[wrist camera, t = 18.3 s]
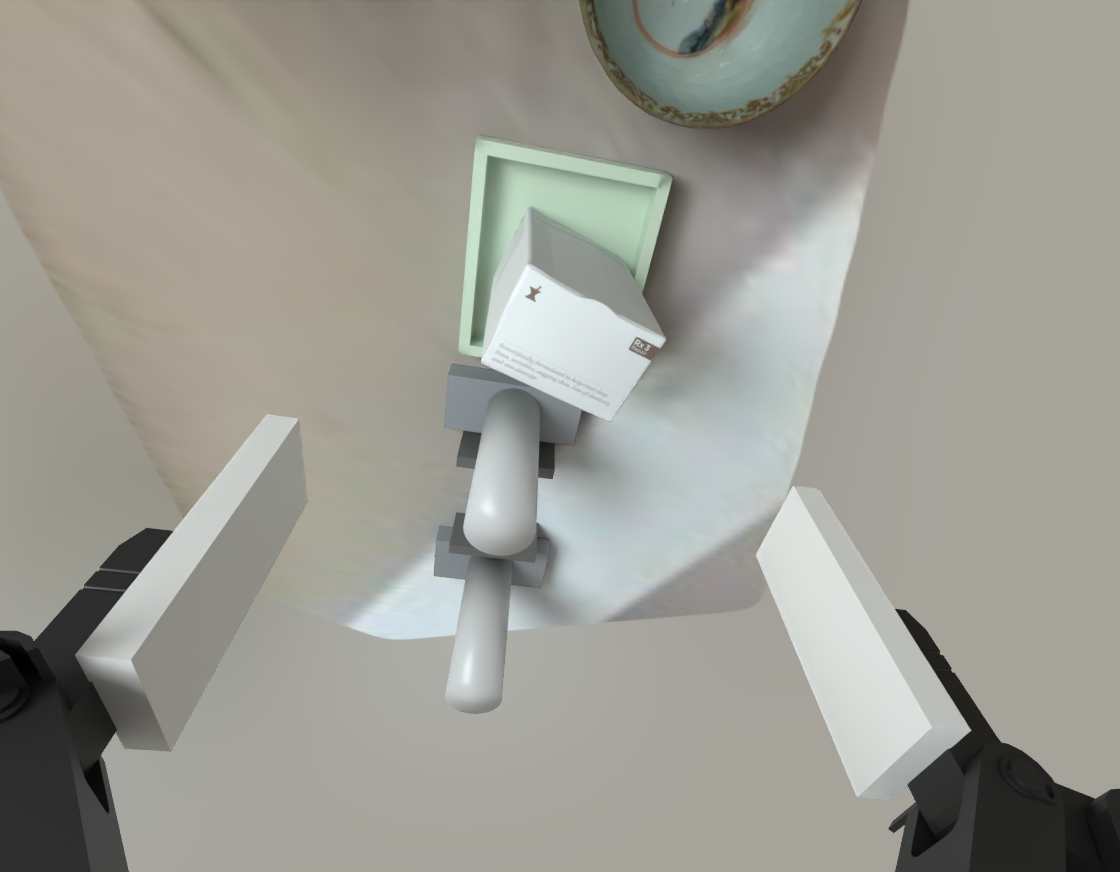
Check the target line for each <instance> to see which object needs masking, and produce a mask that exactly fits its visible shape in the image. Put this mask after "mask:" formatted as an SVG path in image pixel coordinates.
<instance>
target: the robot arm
mask: <svg viewBox="0 0 1120 872" xmlns="http://www.w3.org/2000/svg"><path fill="white" fill-rule="evenodd" d="M307 502H308V500H307V491H306V481H305V472H304V462H303V453H302V443H301V434H300V424H299V419H297V418H289V417H282V416H274V415H266V416H265V417H264V419H263V420H262V421H261V422H260V424H259V425H258V426H257V427H256V429H255V430H254V431H253V432H252V434H251V435H250V436H249V437H248V439H247V440H246V441H245V442H244V444H243V445H242V446H241V447H240V449H239V450H238V451H237V452H236V454H235V455H234V456H233V457H232V459H231V460H230V461H229V462H228V464H227V465H226V466H225V467H224V469H223V470H222V471H221V472H220V474H219V475H218V476H217V477H216V479H215V480H214V481H213V483H212V484H211V485H210V486H209V488H208V489H207V490H206V491H205V493H204V494H203V495H202V496H201V498H200V499H199V500H198V501H197V503H196V504H195V505H194V506H193V508H192V509H191V510H190V511H189V513H188V514H187V515H186V516H185V518H184V519H183V520H182V522H181V523H180V524H179V525H178V526H177V528H176V529H175V530H174V531H169V530H160V529H151V528H146V529H144V530H143V531H141V532H140V533H138V534H136V535H135V536H133V537H132V538H130V539H128V540H127V541H125V542H124V543H122V544H121V545H119V546H118V547H117V548H116V550H115V551H114V552H113V553H112V554H111V555H110V556H109V557H108V559H107V560H106V561H105V562H104V563H103V564H102V565H101V566H100V570H99V571H98V572H97V571H96V572H95V573H94V574H93V576H92V577H91V578H90V579H89V580H88V581H87V582H86V583H85V585H84V588H83V590H79V591H78V593H77V594H76V595H75V596H74V597H73V598H72V599H71V600H70V601H69V603H68V604H67V605H66V606H65V607H64V608H63V609H62V610H61V612H60V613H59V614H58V615H57V616H56V617H55V618H54V619H53V621H52V622H51V623H50V624H49V625H48V626H47V628H46V629H45V630H44V631H43V632H42V633H41V634H40V635H39V636H38V638H37V639H36V640H35V641H33V639H32V637H31V636H28V635H26V634H23V633H21V632H18V631H0V872H129V871H128V866H127V862H126V857H125V853H124V848H123V843H122V839H121V834H120V830H119V826H118V821H117V816H116V811H115V808H114V803H113V798H112V794H111V789H110V784H109V780H108V775H107V771H106V766H105V762H104V760H103V758H102V756H101V754H102V752H103V751H104V749H105V748H106V746H107V745H108V743H109V741H110V740H111V738H112V737H113V735H114V734H115V732H116V734H117V735H118V737H119V739H120V741H121V743H122V745H123V747H124V748H125V749H141V750H155V751H170V752H171V750H172V749H173V747H174V745H175V743H176V741H177V740H178V738H179V736H180V734H181V732H182V731H183V729H184V727H185V725H186V723H187V721H188V720H189V718H190V716H191V714H192V712H193V710H194V709H195V707H196V705H197V703H198V701H199V699H200V697H201V696H202V694H203V692H204V690H205V688H206V687H207V685H208V683H209V681H210V679H211V677H212V676H213V674H214V672H215V670H216V668H217V667H218V664H219V663H220V661H221V659H222V657H223V656H224V654H225V652H226V650H227V648H228V646H229V645H230V643H231V641H232V639H233V637H234V635H235V633H236V632H237V630H238V628H239V626H240V624H241V623H242V621H243V619H244V617H245V615H246V614H247V612H248V610H249V608H250V606H251V604H252V602H253V601H254V599H255V597H256V595H257V593H258V592H259V590H260V588H261V586H262V584H263V582H264V581H265V579H266V577H267V575H268V573H269V571H270V570H271V568H272V566H273V564H274V562H275V560H276V559H277V557H278V555H279V553H280V551H281V550H282V548H283V546H284V544H285V542H286V540H287V539H288V537H289V535H290V533H291V531H292V529H293V528H294V526H295V524H296V522H297V520H298V518H299V517H300V515H301V513H302V511H303V509H304V507H305V506H306V504H307ZM756 557H757V559H758V562H759V564H760V566H761V569H762V571H763V574H764V576H765V578H766V581H767V583H768V585H769V588H770V590H771V592H772V595H773V597H774V600H775V602H776V604H777V607H778V609H779V612H780V614H781V617H782V619H783V621H784V624H785V626H786V628H787V631H788V633H789V635H790V638H791V640H792V643H793V645H794V648H795V650H796V652H797V655H798V657H799V659H800V662H801V664H802V667H803V669H804V671H805V674H806V676H807V679H808V681H809V684H810V686H811V688H812V691H813V693H814V695H815V698H816V700H817V703H818V705H819V707H820V710H821V712H822V714H823V717H824V719H825V722H826V724H827V726H828V729H829V731H830V734H831V736H832V739H833V741H834V743H835V746H836V748H837V750H838V752H839V755H840V758H841V760H842V762H843V765H844V767H845V769H846V772H847V774H848V777H849V779H850V782H851V784H852V786H853V789H854V791H855V793H856V796H857V797H858V798H874V799H889V800H892V799H893V798H894V797H895V796H896V795H898V794H899V793H900V792H901V791H902V790H903V789H905V788H906V787H907V786H908V787H909V789H910V791H911V793H912V795H913V797H914V799H915V801H916V802H915V803H914V804H913V805H912V806H911V807H909V808H908V809H907V810H906V811H904V812H903V813H902V814H901V815H900V816H899V817H897V818H896V819H895V820H894V821H893V822H892V823H891V826H890V827H889V830H891V831H892V832H893V833H894V832H896V831H897V830H898V829H900V828H901V827H902V826H903V825H905V828H904V833H903V838H902V842H901V847H900V852H899V857H898V861H897V866H896V870H895V872H1120V789H1111V790H1109V791H1108V792H1106V793H1104V794H1103V795H1101V796H1099V797H1098V798H1096V799H1094V798H1092V797H1090V796H1087V795H1085V794H1082V793H1079V792H1077V791H1074V790H1071V789H1069V788H1067V787H1064V786H1062V785H1059V784H1057V783H1054V781H1053V779H1052V778H1051V777H1050V776H1049V774H1048V773H1047V772H1046V771H1045V770H1044V769H1043V768H1042V767H1041V766H1040V765H1039V764H1038V763H1037V762H1036V761H1035V760H1033V759H1032V758H1031V757H1030V756H1028V755H1027V754H1025V753H1024V752H1023V751H1021V750H1019V749H1017V748H1015V747H1013V746H1011V745H1009V744H1006V743H1001V741H1000V740H999V739H998V738H997V736H996V735H995V733H994V732H993V730H992V729H991V727H990V726H989V724H988V723H987V721H986V720H985V718H984V717H983V715H982V714H981V712H980V710H979V709H978V707H977V706H976V704H975V703H974V701H973V700H972V698H971V697H970V695H969V694H968V692H967V691H966V689H965V688H964V686H963V685H962V683H961V682H960V680H959V679H958V677H957V676H956V674H955V673H952V671H951V669H952V668H951V667H950V665H949V664H948V662H947V661H946V659H945V658H944V656H943V655H940V650H939V649H938V647H937V646H936V644H935V643H934V641H933V640H932V638H931V636H930V635H929V633H928V632H927V630H926V629H925V628H924V627H923V626H922V625H921V624H920V623H918V622H917V621H916V620H915V619H914V618H913V617H912V616H911V615H910V614H909V613H908V612H907V611H906V610H900V609H894V607H893V606H892V604H891V603H890V601H889V599H888V598H887V596H886V595H885V593H884V591H883V590H882V588H881V587H880V585H879V583H878V582H877V580H876V579H875V577H874V576H873V574H872V572H871V571H870V569H869V568H868V566H867V564H866V563H865V561H864V560H863V558H862V556H861V555H860V553H859V552H858V550H857V548H856V547H855V545H854V544H853V542H852V541H851V539H850V538H849V536H848V534H847V533H846V531H845V529H844V528H843V526H842V525H841V523H840V522H839V520H838V518H837V517H836V515H835V514H834V512H833V510H832V509H831V507H830V506H829V504H828V503H827V501H826V499H825V498H824V496H823V495H822V493H821V491H820V490H819V489H815V488H808V487H800V486H793V487H792V489H791V490H790V492H789V494H788V496H787V498H786V500H785V502H784V503H783V505H782V507H781V509H780V511H779V513H778V515H777V516H776V518H775V520H774V522H773V524H772V526H771V527H770V529H769V531H768V533H767V535H766V537H765V539H764V540H763V542H762V544H761V546H760V548H759V550H758V552H757V553H756Z"/></svg>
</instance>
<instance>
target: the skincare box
mask: <svg viewBox="0 0 1120 872" xmlns="http://www.w3.org/2000/svg"><path fill="white" fill-rule="evenodd" d="M665 342H666V337H665V335H664V333H663V332H662V330H661V328H660V326H659V324H658V322H657V321H656V319H655V317H654V315H653V313H652V311H651V309H650V308H649V306H648V304H647V302H646V300H645V299H644V297H643V295H642V293H641V291H640V289H639V288H638V286H637V284H636V282H635V280H634V278H633V276H632V275H631V273H630V271H629V269H628V267H627V265H626V263H625V261H624V260H623V259H622V258H620V257H619V256H617V255H615V254H614V253H612V252H610V251H609V250H607V249H605V248H603V247H602V246H600V245H598V244H597V243H595V242H593V241H592V240H590V239H588V238H586V237H585V236H583V235H581V234H579V233H577V232H576V231H574V230H572V229H570V228H569V227H567V226H565V225H563V224H562V223H560V222H558V221H556V220H553V219H551V218H549V217H547V216H546V215H544V214H542V213H541V212H539V211H538V210H536V209H534V208H533V207H531V206H530V207H528V208H527V210H526V212H525V214H524V216H523V218H522V220H521V222H520V224H519V226H518V228H517V230H516V232H515V234H514V236H513V238H512V240H511V242H510V244H509V246H508V248H507V250H506V252H505V254H504V256H503V258H502V261H501V263H500V265H499V267H498V269H497V271H496V273H495V275H494V278H493V283H492V290H491V296H490V304H489V310H488V316H487V323H486V329H485V336H484V343H483V350H482V358H481V363H482V364H484V365H486V366H488V367H490V368H493V369H495V370H497V371H499V372H501V373H504V374H506V375H508V376H510V377H512V378H514V379H516V380H518V381H521V382H523V383H525V384H527V385H529V386H531V387H534V388H536V389H538V390H540V391H542V392H544V393H546V394H549V395H551V396H553V397H555V398H557V399H560V400H562V401H564V402H566V403H568V404H571V405H573V406H575V407H577V408H579V409H582V410H584V411H586V412H588V413H590V414H593V415H595V416H597V417H599V418H601V419H604V420H606V421H608V422H610V421H611V420H612V418H613V417H614V416H615V414H616V413H617V411H618V410H619V408H620V407H621V406H622V404H623V403H624V401H625V400H626V398H627V397H628V395H629V394H630V392H631V391H632V389H633V388H634V386H635V385H636V383H637V382H638V380H639V379H640V377H641V376H642V375H643V373H644V372H645V370H646V369H647V367H648V366H649V364H650V363H651V361H652V360H653V359H654V357H655V356H656V354H657V353H658V352H659V350H660V349H661V347H662V346H663V345H664V343H665Z"/></svg>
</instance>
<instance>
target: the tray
mask: <svg viewBox="0 0 1120 872" xmlns="http://www.w3.org/2000/svg"><path fill="white" fill-rule="evenodd" d="M672 179H673V177H672V176H671V175H670V174H669V173H668V172H666V171H662V170H657V169H652V168H647V167H642V166H636V165H631V164H626V163H621V162H616V161H611V160H606V159H601V158H596V157H591V156H585V155H580V154H575V153H570V152H565V151H560V150H555V149H550V148H545V147H540V146H534V145H529V144H524V143H519V142H514V141H509V140H504V139H499V138H494V137H489V136H483V135H479V136H478V137H477V138H476V139H475V152H474V164H473V176H472V189H471V201H470V213H469V226H468V238H467V251H466V263H465V275H464V288H463V300H462V312H461V325H460V337H459V349H458V354H464V355H471V356H477V357H482V350H483V343H484V336H485V329H486V323H487V316H488V310H489V304H490V296H491V290H492V283H493V278H494V275H495V273H496V271H497V269H498V267H499V265H500V263H501V261H502V258H503V256H504V254H505V252H506V250H507V248H508V246H509V244H510V242H511V240H512V238H513V236H514V234H515V232H516V230H517V228H518V226H519V224H520V222H521V220H522V218H523V216H524V214H525V212H526V210H527V208H528V207H530V206H531V207H533V208H534V209H536V210H538V211H539V212H541V213H542V214H544V215H546V216H547V217H549V218H551V219H553V220H556V221H558V222H560V223H562V224H563V225H565V226H567V227H569V228H570V229H572V230H574V231H576V232H577V233H579V234H581V235H583V236H585V237H586V238H588V239H590V240H592V241H593V242H595V243H597V244H598V245H600V246H602V247H603V248H605V249H607V250H609V251H610V252H612V253H614V254H615V255H617V256H619V257H620V258H622V259H623V260H624V261H625V263H626V265H627V267H628V269H629V271H630V273H631V275H632V276H633V278H634V280H635V282H636V284H637V286H638V288H639V289H640V291H641V293H643V289H644V285H645V282H646V278H647V274H648V270H649V266H650V263H651V259H652V255H653V251H654V247H655V244H656V240H657V236H658V232H659V228H660V225H661V221H662V217H663V213H664V209H665V206H666V202H667V198H668V194H669V190H670V187H671V183H672Z"/></svg>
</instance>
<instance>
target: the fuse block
mask: <svg viewBox="0 0 1120 872" xmlns="http://www.w3.org/2000/svg"><path fill="white" fill-rule="evenodd" d="M581 412H582V409H579V408H577V407H575V406H573V405H571V404H568V403H566V402H564V401H562V400H560V399H557V398H555V397H553V396H551V395H549V394H546V393H544V392H542V391H540V390H538V389H536V388H534V387H531V386H529V385H527V384H525V383H523V382H521V381H518V380H516V379H514V378H512V377H510V376H508V375H506V374H504V373H501V372H499V371H497V370H490V369H483V368H477V367H470V366H464V365H457V364H452V365H451V368H450V371H449V374H448V383H447V397H446V411H445V425H444V428H449V429H456V430H463V431H464V432H463V436H462V440H461V444H460V448H459V452H458V456H457V465H456V466H457V467H465V468H472V469H475V470H474V475H473V480H472V485H471V490H470V495H469V500H468V505H467V510H466V514H462V513H456V517H455V522H454V526H453V528H452V527H443V526H440V527H439V531H438V535H437V539H436V551H435V565H434V576H438V577H447V578H456V579H465V585H464V591H463V597H462V602H461V608H460V614H459V620H458V625H457V631H456V637H455V643H454V649H453V654H452V660H451V666H450V671H449V677H448V683H447V689H446V694H445V698H446V701H447V703H448V704H449V705H450V706H451V707H453V708H454V709H456V710H458V711H461V712H465V713H472V714H479V713H486V712H489V711H492V710H494V709H495V708H497V707H498V706H499V705H500V703H501V701H502V688H503V676H504V664H505V652H506V640H507V628H508V616H509V603H510V591H511V585H519V586H528V587H537V588H541V586H542V582H543V578H544V573H545V569H546V565H547V560H548V556H549V539H543V538H537V523H536V518H537V491H538V477H540V478H548V479H553V474H554V470H555V466H554V443H556V444H564V445H571V446H574V442H575V438H576V434H577V429H578V425H579V420H580V416H581Z"/></svg>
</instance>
